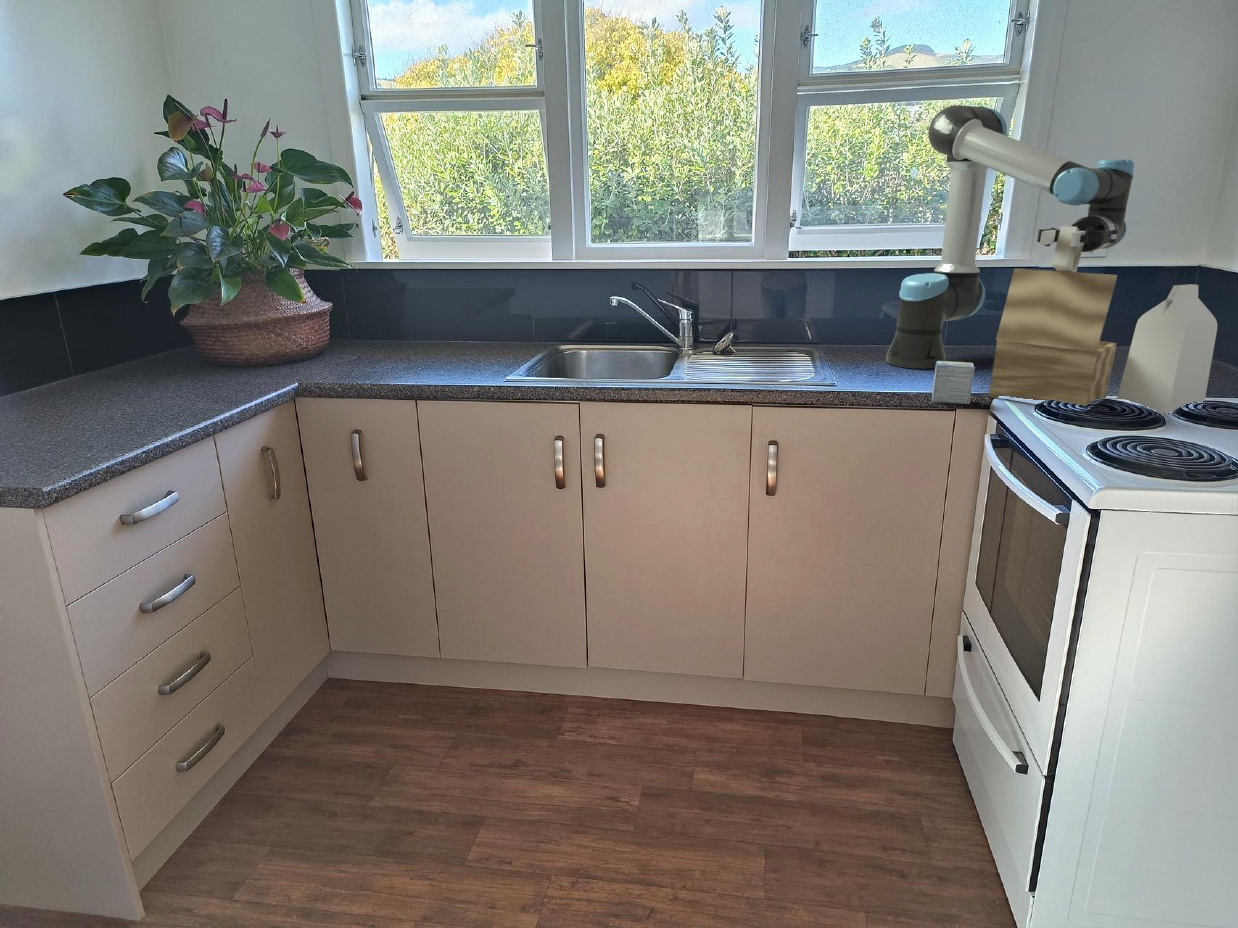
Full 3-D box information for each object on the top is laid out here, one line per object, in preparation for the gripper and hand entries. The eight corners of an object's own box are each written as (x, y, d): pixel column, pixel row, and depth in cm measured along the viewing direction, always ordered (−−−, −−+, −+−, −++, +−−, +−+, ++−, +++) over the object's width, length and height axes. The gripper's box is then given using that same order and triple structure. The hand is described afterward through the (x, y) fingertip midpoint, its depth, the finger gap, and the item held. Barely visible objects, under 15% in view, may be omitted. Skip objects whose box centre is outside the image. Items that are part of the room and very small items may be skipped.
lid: (1098, 354, 169) (1090, 348, 163) (1000, 342, 182) (989, 336, 176) (1130, 239, 167) (1123, 228, 161) (1028, 235, 180) (1018, 225, 174)
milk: (1166, 414, 170) (1195, 289, 162) (1116, 401, 180) (1140, 283, 172) (1203, 408, 175) (1233, 286, 166) (1151, 396, 185) (1177, 281, 176)
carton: (1084, 413, 172) (1096, 353, 167) (988, 397, 185) (997, 341, 180) (1105, 399, 182) (1116, 343, 178) (1013, 385, 196) (1022, 332, 191)
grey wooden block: (968, 400, 182) (973, 362, 179) (969, 405, 178) (975, 366, 175) (931, 397, 185) (936, 360, 182) (931, 402, 181) (936, 364, 178)
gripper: (1133, 253, 175) (1103, 260, 159) (1044, 249, 187) (1008, 255, 171) (1140, 217, 173) (1111, 220, 157) (1050, 215, 184) (1014, 218, 168)
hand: (1057, 238), depth 164 cm, fingers open, 5 cm apart
